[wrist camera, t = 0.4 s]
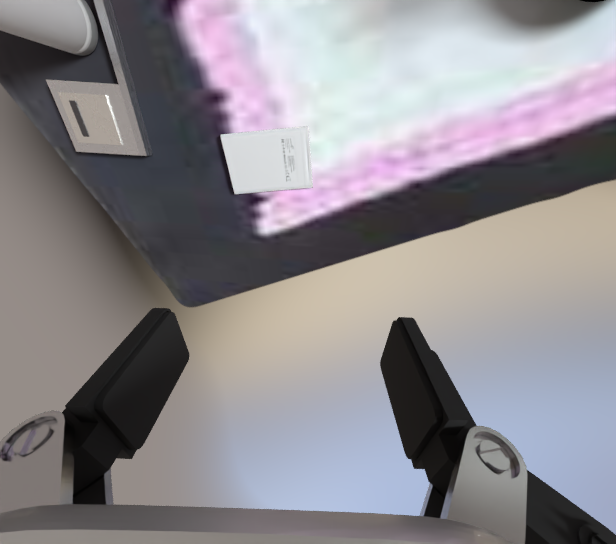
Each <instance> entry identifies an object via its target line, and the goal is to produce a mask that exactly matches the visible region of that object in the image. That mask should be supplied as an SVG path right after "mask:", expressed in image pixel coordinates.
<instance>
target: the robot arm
mask: <svg viewBox="0 0 616 544" xmlns="http://www.w3.org/2000/svg"><path fill="white" fill-rule="evenodd" d="M188 360H189V352H188V349H187V346H186V343H185V341H184V338H183V335H182V332H181V330H180V327H179V324H178V321H177V319H176V316H175V314H174V313H173V312H171V310H170V309H167V308H153V309H152V310H150V312H149V313H148V314H147V315H146V316H145V317H144V318H143V319H142V320H141V321H140V323H139V324H138V325H137V326H136V327H135V328H134V329H133V331H132V332H131V333H130V334H129V335H128V336H127V337H126V338H125V340H124V341H123V342H122V343H121V344H120V345H119V346H118V347H117V348H116V349H115V351H114V352H113V353H112V354H111V355H110V356H109V358H108V359H107V360H106V361H105V362H104V363H103V364H102V365H101V366H100V367H99V369H98V370H97V371H96V372H95V373H94V374H93V375H92V376H91V377H90V379H89V380H88V381H87V382H86V383H85V384H84V385H83V386H82V388H81V389H80V390H79V391H78V392H77V393H76V394H75V396H74V397H73V398H72V399H71V400H70V401H69V402H68V403H67V404H66V405H65V406H66V409H65V410H64V411H63V412H62V413H61V412H59V411H48V412H44V413H41V414H38V415H35V416H33V417H31V418H29V419H27V420H26V421H24V422H22V423H21V424H19V425H18V426H17V427H15V428H14V429H12V430H11V431H10V432H9V433H8V434H7V435H6V436H5V437H4V438H3V439H2V440H1V441H0V544H616V535H615V534H614V533H613V532H611V531H610V530H609V529H608V528H606V527H605V526H604V525H602V524H601V523H600V522H598V521H597V520H595V519H594V518H593V517H591V516H590V515H589V514H587V513H586V512H584V511H583V510H582V509H580V508H579V507H577V506H576V505H575V504H573V503H572V502H571V501H569V500H568V499H567V498H565V497H564V496H562V495H561V494H560V493H558V492H557V491H555V490H554V489H553V488H551V487H550V486H549V485H547V484H546V483H545V482H543V481H542V480H540V479H539V478H538V477H536V476H535V475H533V474H532V473H531V472H529V471H528V470H527V469H526V465H525V463H524V461H523V458H522V456H521V455H520V453H519V452H518V450H517V449H516V448H515V446H514V445H513V444H512V443H511V442H510V441H509V440H508V439H506V438H505V437H504V436H502V435H501V434H500V433H498V432H497V431H495V430H493V429H491V428H488V427H484V426H476V424H475V422H474V420H473V419H472V417H471V415H470V413H469V411H468V409H467V408H466V406H465V404H464V402H463V401H462V399H461V397H460V395H459V393H458V391H457V390H456V388H455V386H454V384H453V382H452V381H451V379H450V377H449V375H448V373H447V371H446V370H445V368H444V366H443V364H442V362H441V361H440V359H439V357H438V355H437V354H436V353H435V352H434V351H433V350H431V349H430V347H429V346H428V344H427V342H426V340H425V338H424V336H423V334H422V333H421V331H420V329H419V327H418V325H417V323H416V321H415V320H414V319H413V318H404V317H401V318H400V317H399V318H398V319H397V321H393V323H392V326H391V329H390V333H389V336H388V339H387V342H386V345H385V348H384V352H383V355H382V358H381V362H380V366H381V370H382V374H383V377H384V381H385V384H386V388H387V391H388V395H389V398H390V402H391V405H392V409H393V413H394V416H395V420H396V423H397V426H398V430H399V434H400V437H401V441H402V444H403V448H404V451H405V454H406V456H407V458H408V459H411V460H412V463H413V467H414V469H425V471H426V474H427V477H428V480H429V482H430V485H429V488H428V491H427V494H426V497H425V501H424V504H423V507H422V510H421V513H420V516H409V515H392V514H375V513H351V512H326V511H325V512H324V511H300V510H272V509H243V508H211V507H180V506H179V507H178V506H145V505H113V495H112V494H113V493H112V480H111V466H112V464H113V463H114V461H115V459H116V458H125V459H132V458H133V456H134V454H135V452H136V450H137V449H140V448H141V447H142V446H143V444H144V443H145V440H146V439H147V437H148V435H149V433H150V431H151V430H152V428H153V426H154V424H155V422H156V420H157V418H158V416H159V414H160V413H161V411H162V409H163V407H164V405H165V403H166V401H167V400H168V398H169V396H170V394H171V392H172V390H173V388H174V386H175V385H176V383H177V381H178V379H179V377H180V375H181V373H182V372H183V370H184V368H185V366H186V364H187V362H188Z"/></svg>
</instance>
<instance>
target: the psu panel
mask: <svg viewBox="0 0 616 544" xmlns="http://www.w3.org/2000/svg"><path fill="white" fill-rule="evenodd" d="M94 4H95V7H96V10H97V14H98V17H99V20H100V24H101V27H102V30H103V34H104V37H105V41H106V44H107V47H108V51H109V54H110V57H111V61H112V64H113V67H114V71H115V74H116V77H117V81H118V84H105V83H90V82H75V81H59V80H46V81H47V84H48V86H49V88H50V91H51V93H52V95H53V98H54V100H55V102H56V105H57V107H58V109H59V112H60V114H61V116H62V119H63V121H64V123H65V126H66V128H67V131H68V133H69V135H70V138H71V140H72V142H73V145H74V147H75V149H76V152H91V153H107V154H123V155H140V156H150V155H153V153H152V150H151V146H150V142H149V138H148V135H147V131H146V127H145V124H144V120H143V116H142V113H141V109H140V105H139V102H138V98H137V94H136V90H135V87H134V83H133V79H132V76H131V72H130V68H129V65H128V61H127V57H126V54H125V50H124V46H123V42H122V39H121V35H120V31H119V28H118V24H117V20H116V17H115V13H114V9H113V6H112V2H111V0H94Z"/></svg>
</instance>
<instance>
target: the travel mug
mask: <svg viewBox="0 0 616 544" xmlns="http://www.w3.org/2000/svg"><path fill="white" fill-rule="evenodd" d="M0 30H1V31H4V32H7V33H10V34H13V35H16V36H19V37H22V38H25V39H29V40H32V41H35V42H38V43H41V44H44V45H47V46H50V47H54V48H57V49H60V50H63V51H66V52H69V53H72V54H75V55H80V56H84V55H88V54H90V53H92V52H93V51H94V50H95V48H96V46H97V42H98V29H97V24H96V21H95V18H94V15H93V13H92V11H91V9H90V7H89V6H88V4H87V2H86V1H85V0H0Z"/></svg>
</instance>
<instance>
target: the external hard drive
mask: <svg viewBox="0 0 616 544" xmlns="http://www.w3.org/2000/svg"><path fill="white" fill-rule="evenodd" d="M220 136H221V141H222V145H223V149H224V154H225V157H226V162H227V166H228V170H229V174H230V178H231V182H232V186H233V190H234V194H244V193H256V192H267V191H279V190H291V189H302V188H313V183H312V169H311V154H310V139H309V126H304V127H293V128H283V129H272V130H262V131H251V132H241V133H231V134H221V135H220Z"/></svg>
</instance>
